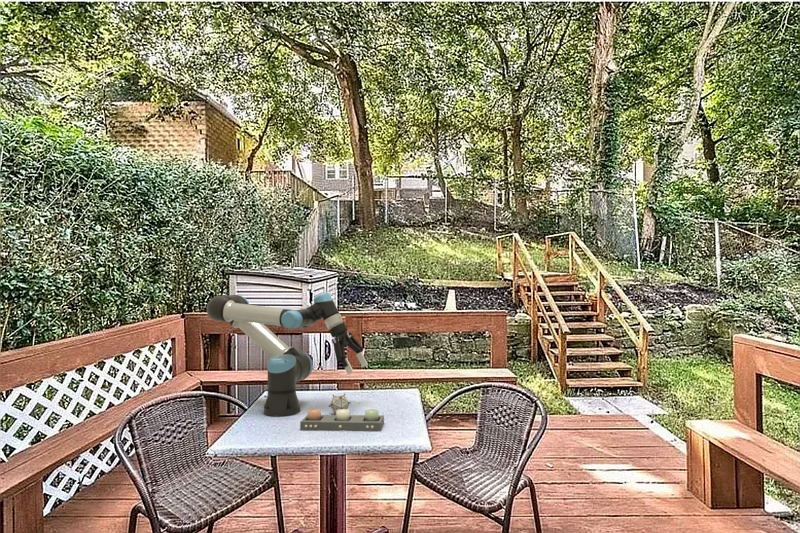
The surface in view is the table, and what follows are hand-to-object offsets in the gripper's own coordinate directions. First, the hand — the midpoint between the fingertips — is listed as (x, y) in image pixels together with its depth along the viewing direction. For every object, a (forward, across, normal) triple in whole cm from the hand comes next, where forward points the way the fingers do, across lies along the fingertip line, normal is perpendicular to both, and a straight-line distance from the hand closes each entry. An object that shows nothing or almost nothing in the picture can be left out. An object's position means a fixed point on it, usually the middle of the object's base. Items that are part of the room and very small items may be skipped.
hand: (358, 369), depth 238 cm
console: (+17, -29, 0) cm, 33 cm away
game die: (+13, -12, +10) cm, 20 cm away
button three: (+10, -32, +8) cm, 35 cm away
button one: (+15, -29, -1) cm, 32 cm away
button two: (+20, -25, -10) cm, 34 cm away
